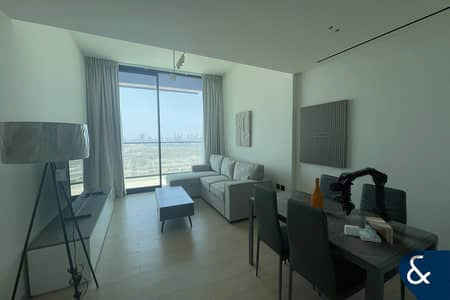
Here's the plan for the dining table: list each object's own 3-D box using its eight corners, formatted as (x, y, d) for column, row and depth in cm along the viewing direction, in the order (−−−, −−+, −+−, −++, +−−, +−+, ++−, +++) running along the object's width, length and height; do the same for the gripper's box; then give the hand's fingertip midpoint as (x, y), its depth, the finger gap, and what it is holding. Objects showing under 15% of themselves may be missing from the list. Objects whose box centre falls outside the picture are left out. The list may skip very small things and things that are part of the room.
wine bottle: (313, 208, 175) (313, 176, 173) (324, 211, 168) (325, 177, 166) (309, 211, 168) (309, 177, 166) (320, 214, 161) (321, 179, 159)
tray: (342, 229, 134) (342, 221, 134) (373, 233, 129) (373, 225, 128) (347, 238, 123) (347, 229, 123) (381, 242, 117) (381, 233, 117)
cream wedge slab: (364, 230, 132) (365, 216, 132) (380, 232, 129) (380, 218, 129) (374, 242, 117) (374, 226, 116) (392, 245, 114) (393, 228, 114)
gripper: (330, 187, 143) (329, 207, 144) (335, 194, 126) (335, 217, 126) (347, 188, 140) (346, 209, 140) (355, 195, 122) (355, 219, 123)
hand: (345, 213), depth 133 cm, fingers open, 9 cm apart
